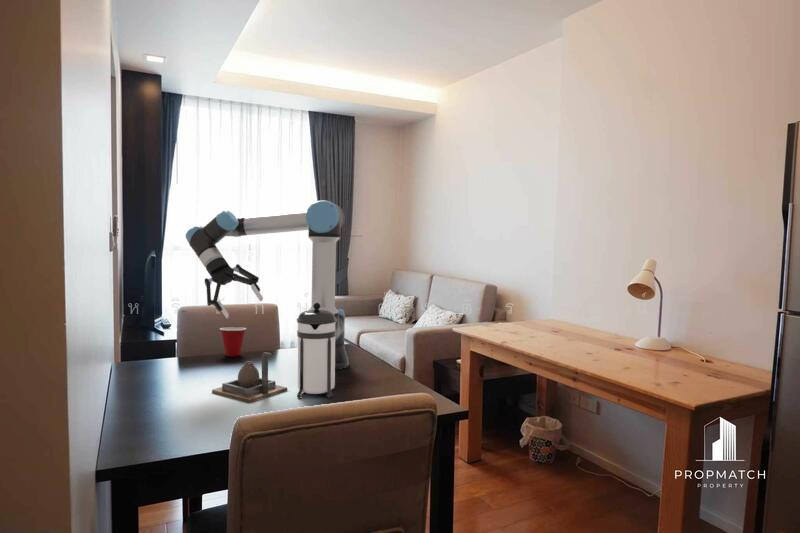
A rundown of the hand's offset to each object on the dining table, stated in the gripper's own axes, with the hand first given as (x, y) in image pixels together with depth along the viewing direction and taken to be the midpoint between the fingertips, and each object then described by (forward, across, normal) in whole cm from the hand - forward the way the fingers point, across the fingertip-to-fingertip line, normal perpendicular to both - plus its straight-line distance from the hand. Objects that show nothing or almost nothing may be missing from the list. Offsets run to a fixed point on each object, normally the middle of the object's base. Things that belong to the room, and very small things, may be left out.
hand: (245, 308), depth 184 cm
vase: (+26, +14, +1) cm, 30 cm away
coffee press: (+41, -1, +8) cm, 41 cm away
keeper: (+27, +15, +1) cm, 31 cm away
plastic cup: (0, +2, -47) cm, 47 cm away
